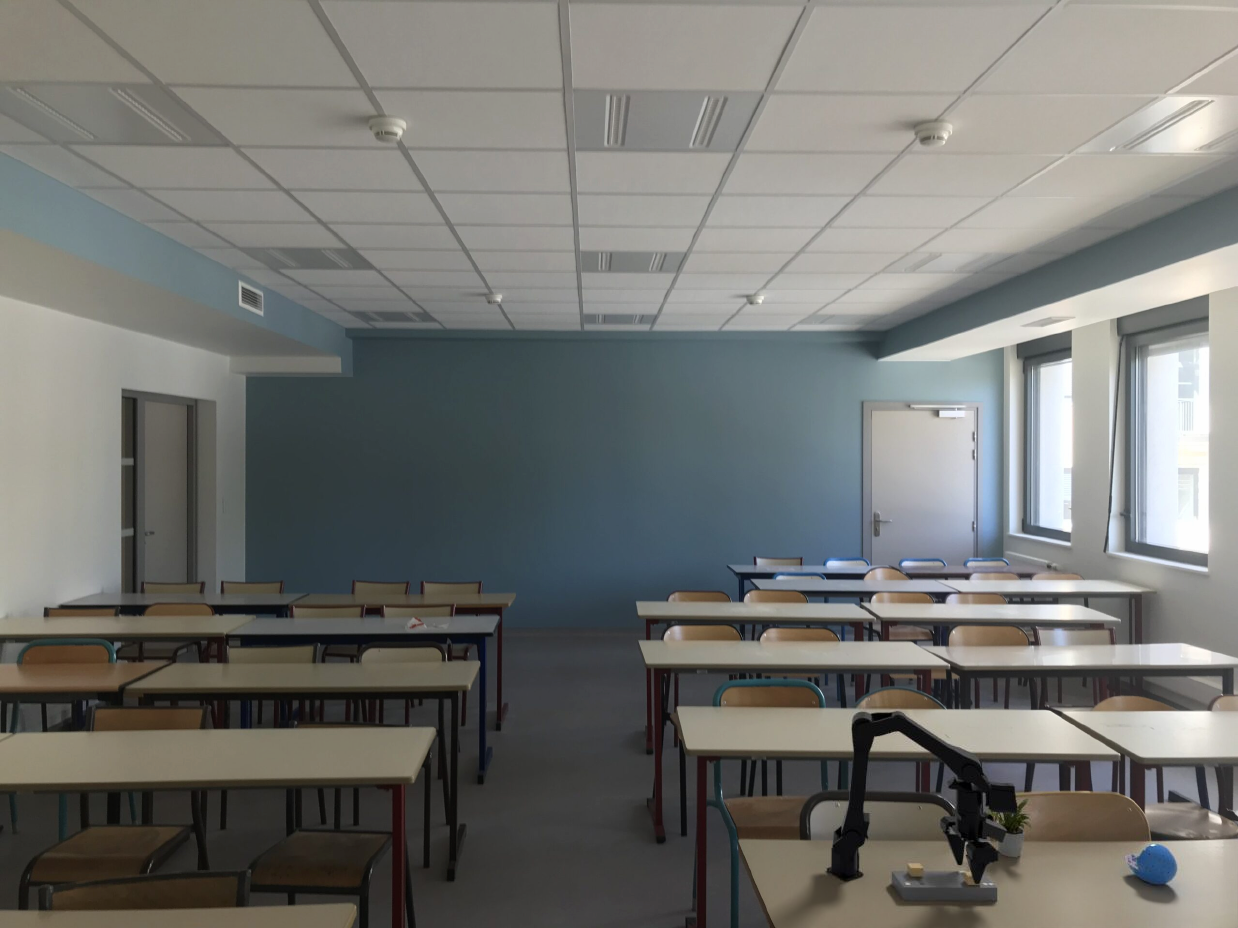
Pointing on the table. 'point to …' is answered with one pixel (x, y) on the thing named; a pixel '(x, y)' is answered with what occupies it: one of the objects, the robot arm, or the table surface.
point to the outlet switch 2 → (969, 878)
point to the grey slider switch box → (942, 887)
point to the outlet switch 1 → (915, 869)
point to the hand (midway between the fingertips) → (968, 873)
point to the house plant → (1012, 830)
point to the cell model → (1153, 864)
